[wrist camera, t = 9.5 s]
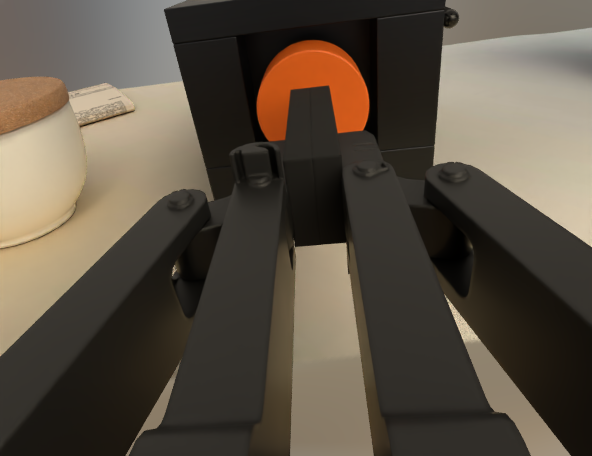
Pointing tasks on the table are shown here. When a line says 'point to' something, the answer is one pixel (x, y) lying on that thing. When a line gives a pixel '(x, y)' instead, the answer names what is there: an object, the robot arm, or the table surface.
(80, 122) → the newspaper
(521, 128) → the table surface
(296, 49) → the button
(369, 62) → the box
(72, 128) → the trinket box
